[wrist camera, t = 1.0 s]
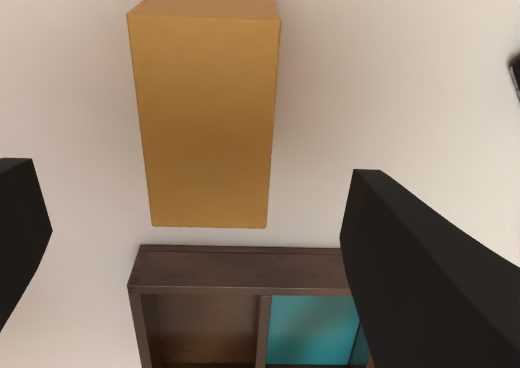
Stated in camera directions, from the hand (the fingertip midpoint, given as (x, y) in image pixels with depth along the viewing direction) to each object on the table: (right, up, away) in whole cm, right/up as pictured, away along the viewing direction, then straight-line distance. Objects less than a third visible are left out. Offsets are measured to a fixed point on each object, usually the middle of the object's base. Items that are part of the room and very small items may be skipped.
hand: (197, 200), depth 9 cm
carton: (0, +5, +8) cm, 9 cm away
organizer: (+1, -8, +16) cm, 18 cm away
